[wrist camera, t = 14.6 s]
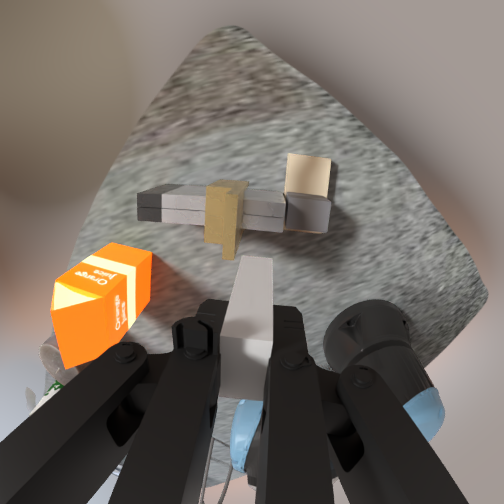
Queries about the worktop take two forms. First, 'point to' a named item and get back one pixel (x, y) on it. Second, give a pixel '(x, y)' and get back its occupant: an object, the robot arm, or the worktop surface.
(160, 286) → the worktop surface
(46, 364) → the pillar candle
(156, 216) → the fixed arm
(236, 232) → the lock collar
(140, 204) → the tongs arm
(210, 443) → the citrus juicer
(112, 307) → the orange juice
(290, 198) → the stand
